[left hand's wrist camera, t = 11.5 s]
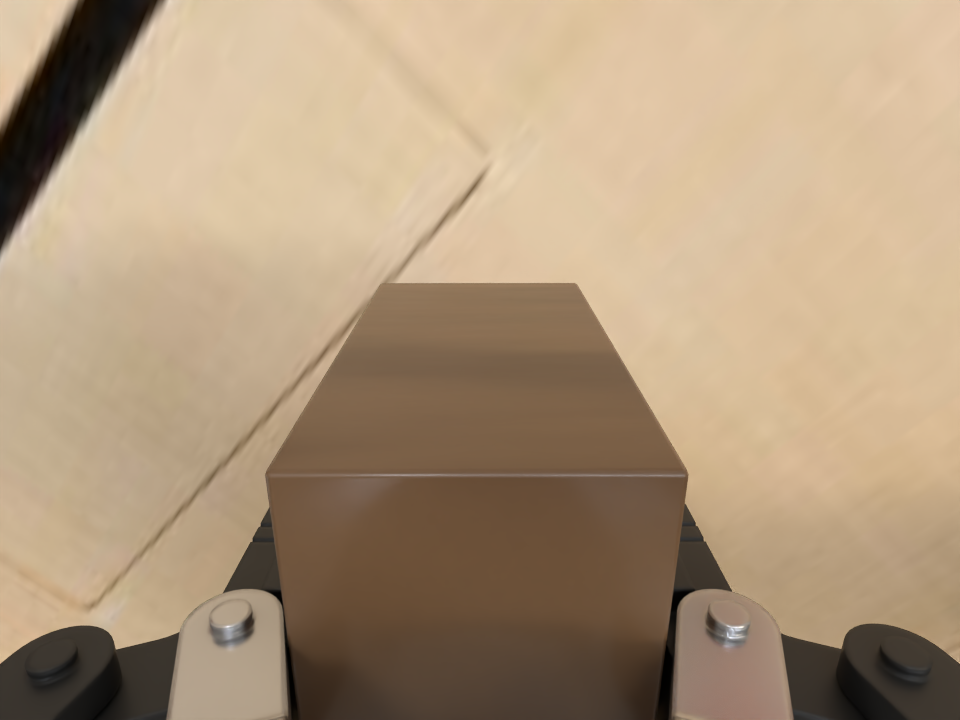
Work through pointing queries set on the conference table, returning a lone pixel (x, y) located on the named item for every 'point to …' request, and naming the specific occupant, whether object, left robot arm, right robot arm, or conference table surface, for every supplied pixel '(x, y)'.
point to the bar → (477, 516)
